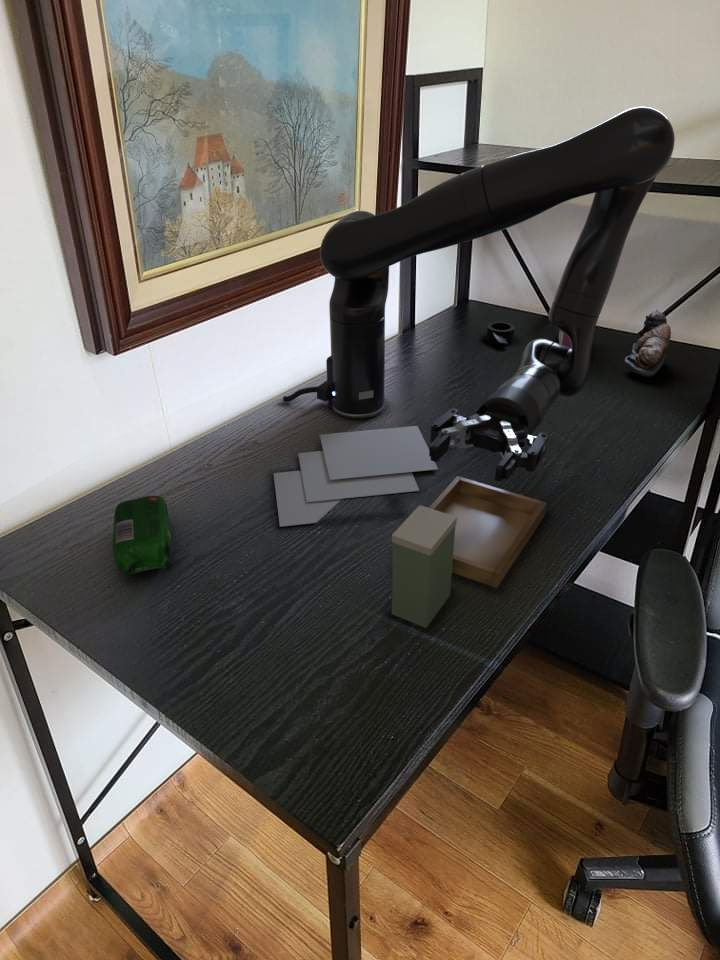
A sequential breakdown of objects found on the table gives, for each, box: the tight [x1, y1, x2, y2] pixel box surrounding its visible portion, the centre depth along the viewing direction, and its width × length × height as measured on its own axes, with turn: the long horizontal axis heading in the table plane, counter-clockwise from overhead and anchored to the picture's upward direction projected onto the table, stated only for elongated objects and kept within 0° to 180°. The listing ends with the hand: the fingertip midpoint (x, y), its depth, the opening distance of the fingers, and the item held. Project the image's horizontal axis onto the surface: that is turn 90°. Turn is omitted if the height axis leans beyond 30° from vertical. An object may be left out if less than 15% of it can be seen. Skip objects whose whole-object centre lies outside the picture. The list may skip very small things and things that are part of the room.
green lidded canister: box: [391, 504, 457, 629], centre depth 84 cm, size 5×7×12 cm
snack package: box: [112, 495, 173, 576], centre depth 95 cm, size 7×16×5 cm, turn 15°
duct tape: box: [485, 321, 516, 346], centre depth 155 cm, size 8×10×3 cm
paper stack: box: [273, 425, 439, 528], centre depth 112 cm, size 23×25×1 cm
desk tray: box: [428, 475, 548, 589], centre depth 98 cm, size 14×18×2 cm
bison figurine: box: [624, 309, 672, 378], centre depth 140 cm, size 12×7×10 cm, turn 154°
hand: (465, 464), depth 88 cm, fingers open, 8 cm apart
